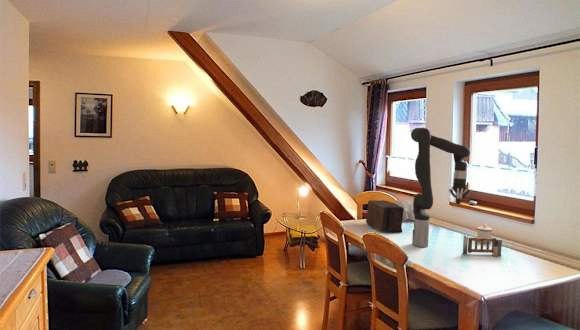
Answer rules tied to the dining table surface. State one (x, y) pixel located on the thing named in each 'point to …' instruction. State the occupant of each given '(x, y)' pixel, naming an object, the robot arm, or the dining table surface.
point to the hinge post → (465, 245)
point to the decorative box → (385, 216)
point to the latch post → (497, 248)
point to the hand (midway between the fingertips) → (458, 204)
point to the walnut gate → (481, 244)
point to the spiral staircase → (406, 209)
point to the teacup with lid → (484, 232)
